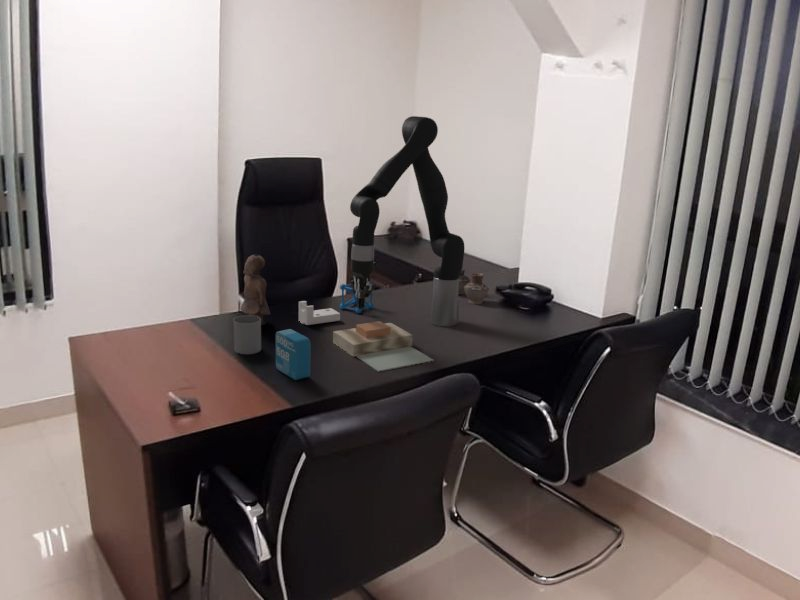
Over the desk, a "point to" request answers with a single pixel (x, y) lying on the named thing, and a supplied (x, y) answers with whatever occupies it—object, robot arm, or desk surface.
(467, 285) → the pottery
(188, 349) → the desk surface
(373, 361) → the mat
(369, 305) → the molecular structure
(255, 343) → the cup
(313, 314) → the bracket
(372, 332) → the tile
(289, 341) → the data package
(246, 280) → the clay figurine
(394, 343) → the light wood flat block
